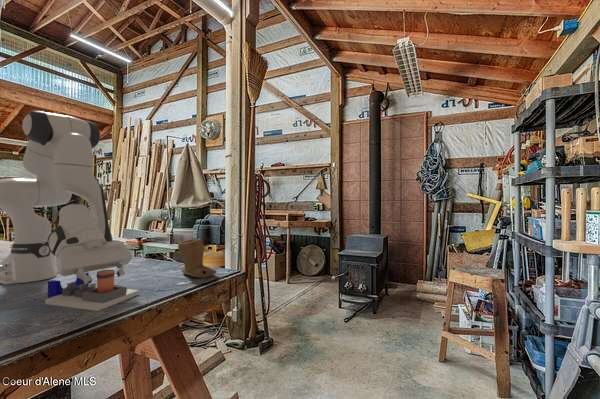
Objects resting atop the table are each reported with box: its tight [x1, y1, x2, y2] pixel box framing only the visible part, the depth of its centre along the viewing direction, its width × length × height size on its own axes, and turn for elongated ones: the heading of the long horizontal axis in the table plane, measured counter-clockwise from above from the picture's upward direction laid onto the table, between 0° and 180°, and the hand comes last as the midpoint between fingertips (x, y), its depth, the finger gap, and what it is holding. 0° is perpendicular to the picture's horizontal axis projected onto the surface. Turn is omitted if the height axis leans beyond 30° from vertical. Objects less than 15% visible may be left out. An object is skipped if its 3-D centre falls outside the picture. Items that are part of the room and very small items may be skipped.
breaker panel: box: [44, 281, 139, 312], centre depth 97 cm, size 20×15×5 cm
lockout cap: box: [96, 269, 116, 294], centre depth 94 cm, size 5×5×8 cm
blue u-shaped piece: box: [47, 272, 90, 298], centre depth 102 cm, size 12×4×6 cm, turn 170°
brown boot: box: [177, 238, 217, 279], centre depth 127 cm, size 15×12×15 cm
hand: (106, 278), depth 94 cm, fingers open, 8 cm apart
